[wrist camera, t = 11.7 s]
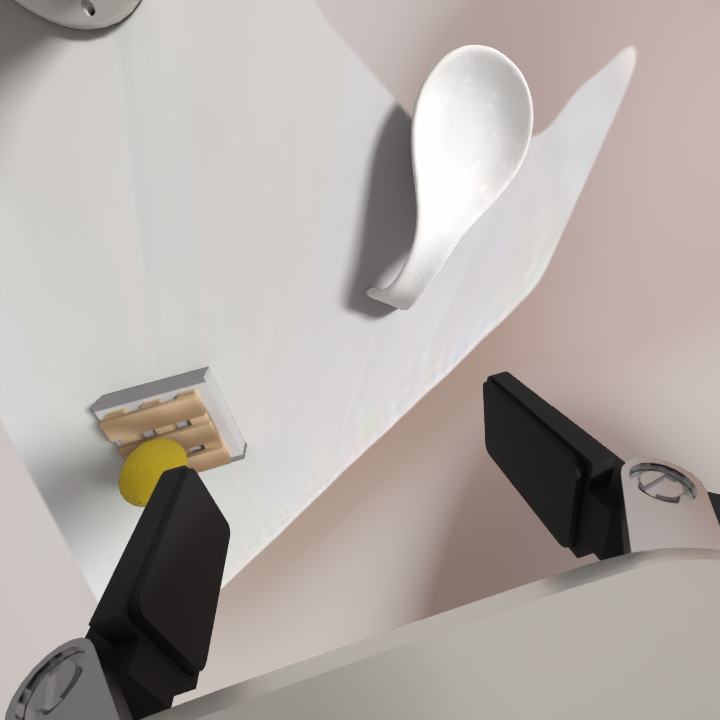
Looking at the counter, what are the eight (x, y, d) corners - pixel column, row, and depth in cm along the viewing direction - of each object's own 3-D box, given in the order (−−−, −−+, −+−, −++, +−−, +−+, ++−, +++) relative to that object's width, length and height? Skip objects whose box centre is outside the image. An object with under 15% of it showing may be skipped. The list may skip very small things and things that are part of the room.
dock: (102, 395, 37) (89, 408, 34) (208, 366, 38) (203, 377, 35) (155, 471, 42) (147, 486, 40) (246, 444, 43) (244, 458, 41)
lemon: (172, 471, 38) (144, 533, 31) (128, 444, 35) (87, 504, 28) (207, 444, 37) (187, 500, 30) (165, 414, 35) (133, 468, 27)
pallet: (105, 412, 35) (96, 422, 34) (198, 387, 36) (193, 395, 34) (152, 477, 40) (146, 489, 38) (233, 454, 40) (230, 464, 39)
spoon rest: (433, 31, 29) (473, -18, 22) (532, 101, 33) (590, 76, 26) (337, 284, 37) (347, 300, 30) (425, 317, 40) (450, 338, 34)
